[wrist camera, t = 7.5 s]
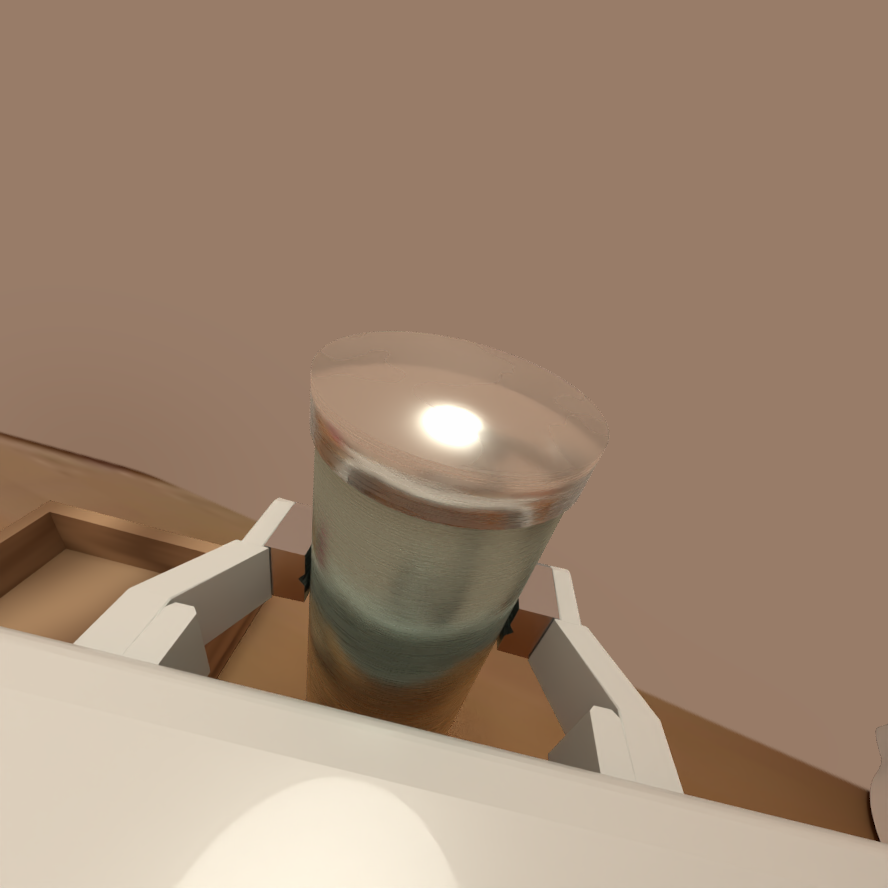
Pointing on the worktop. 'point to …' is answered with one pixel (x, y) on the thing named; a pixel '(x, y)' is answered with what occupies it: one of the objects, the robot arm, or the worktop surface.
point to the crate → (89, 572)
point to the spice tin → (430, 513)
